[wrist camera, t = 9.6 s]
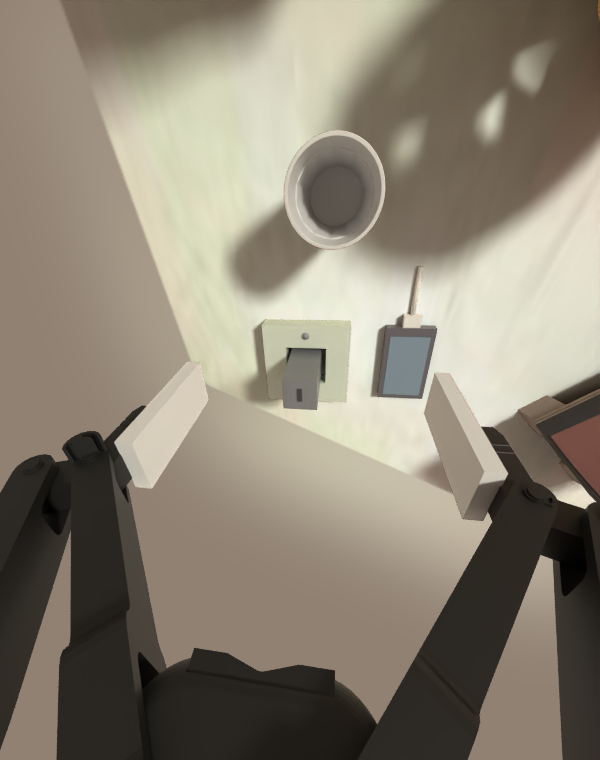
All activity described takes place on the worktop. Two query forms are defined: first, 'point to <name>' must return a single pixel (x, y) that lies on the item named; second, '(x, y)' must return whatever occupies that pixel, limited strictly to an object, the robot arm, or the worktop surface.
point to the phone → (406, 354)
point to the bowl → (599, 9)
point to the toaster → (571, 435)
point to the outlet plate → (308, 336)
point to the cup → (334, 189)
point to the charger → (302, 379)
